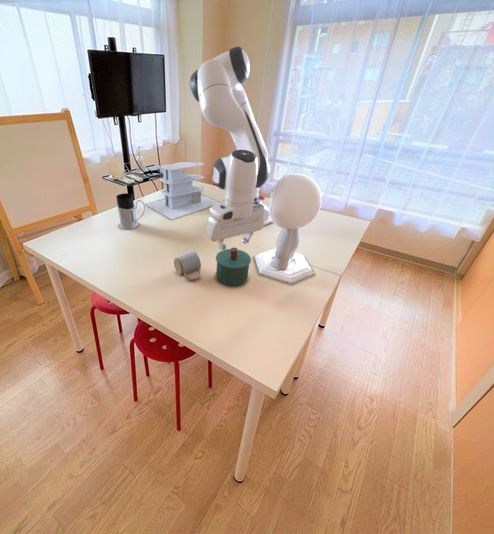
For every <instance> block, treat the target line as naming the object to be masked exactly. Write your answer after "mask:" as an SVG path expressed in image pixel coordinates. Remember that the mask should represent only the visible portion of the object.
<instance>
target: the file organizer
mask: <svg viewBox="0 0 494 534" xmlns="http://www.w3.org/2000/svg"><path fill="white" fill-rule="evenodd" d="M204 165H205V163H203V162H195V161H180V162H173V163H168V164H163V165H158V168H161V169H163V177H161V178H159V182H163V183H164V189H163V190H162V189H161V190H160V194H162V195H164V199H161V200H158V201H154V202H151V203H146V206H147V207H150V208H151V209H152V210H155V211H156V212H158V213H159V214H162V216H164V217H166V218H168V219H170V220H175V219H177V218H180V217H184V216H186V215H189V214H192V213H195V212H198V211H201V210H205V209H208V208H211V207H213V206H214V205H216V204H218V203H220V202H219V201H217V200H215V199H212V198H209V197H207V196H205V195H203V194H202V192H204V191H205V188H204V187H203V186H195V185H194V184H193V183H194V181H198V180H203V179H205V176H204V175H201V174H193V173H192V174H191V173H186V172H185V171H184V170H182V169H187V168H193V167H199V166H204Z"/></svg>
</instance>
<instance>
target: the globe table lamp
mask: <svg viewBox="0 0 494 534" xmlns="http://www.w3.org/2000/svg"><path fill="white" fill-rule="evenodd" d="M322 204H323V195H322V191H321V188H320V187H319V184H318V183H317V182H316V181H315V180H314V179H313V178H311V177H310V176H308V175H306V174H303V173H296V172H294V173H286V174H284V175H283V176H282V177H281V178H280V179H279V180H277V181H276V182H275V184H274V185H273V188H272V190H271V194H270V196H269V201H268V206H267V207H268V214H269V216H270V217H271V220H272V222H271V223H273V224H274V225H276V226H277V227H279V228H281V230H280V231H279V234H278V236H277V237H276V246H275V247H276V248H273V249H269V250H267V251H263V252H261V253H257V255H255V256H254V260H255V263H256V266H257V269H258V272H259V275H261V276H265V277H267V278H271V279H273V280H277V281H280V282H283V283H287V284H290V285H292V284H294V283H297V282H298V281H301V280H303V279H305V278H308V277H311V276H313V275H314V271H313V270H312V268H311V266H310V264H309V263H308V261H307V260H306V258H305V256H304V254H302V253H298V252H296V250H297V249H298V247H299V245H300V241H301V236H300V235H301V233H300V228H303V227H305V226H307V225H309V224H310V223H311V222H312V221H314V220H315V218H316V217H317V216H318V214H319V213H320V210H321V208H322Z"/></svg>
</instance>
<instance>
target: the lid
mask: <svg viewBox="0 0 494 534" xmlns="http://www.w3.org/2000/svg"><path fill="white" fill-rule="evenodd" d="M215 260H216V263H217V262H218V264H219V265H221V266H223V267H225V268H229V269H242V268H245V267H247V266H248V265H249V266H250V264H251V263H252V257H251V255H250V254H249V253H248V252H246V251H244V250H241V249H239V248H238V247H230V248H226V249H224V250H221V251H219V252H217V254H216V256H215Z"/></svg>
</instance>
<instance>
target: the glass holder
mask: <svg viewBox="0 0 494 534" xmlns="http://www.w3.org/2000/svg"><path fill="white" fill-rule="evenodd" d="M138 202H141V203H142V205H143V212H142V214H141V215H140V216H139V217H138V218H137V214H136V209H137V208H138ZM116 205H117V211H118V212H117V213H118V218H119V222H120V225H119V227H120V229H122V230H132V229H135V228H137V227H138V226H139V224H138V220H140V219H141V218H142V217H143V216H144V214H145V211H146V204H145V202H144V201H143V200H141V199H138V200H136V202H135V201H134V195H133V194H132V193H126V192H124V193H120V194H117V195H116Z"/></svg>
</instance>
